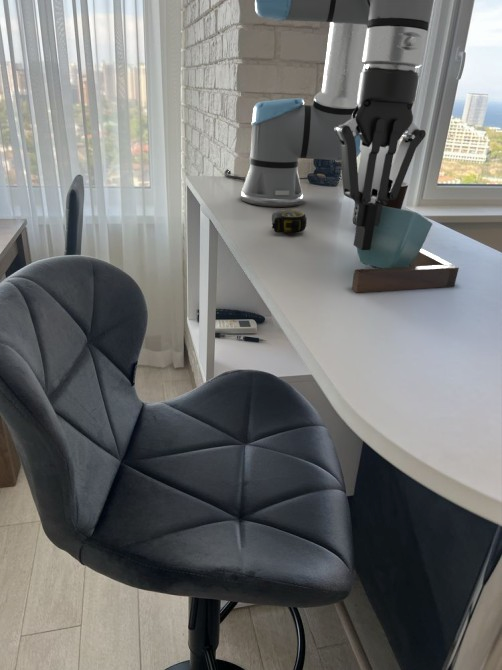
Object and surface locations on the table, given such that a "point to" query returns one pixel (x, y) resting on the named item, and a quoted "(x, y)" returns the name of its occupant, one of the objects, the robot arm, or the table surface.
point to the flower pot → (396, 239)
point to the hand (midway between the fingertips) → (361, 247)
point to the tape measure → (289, 221)
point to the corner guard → (407, 275)
